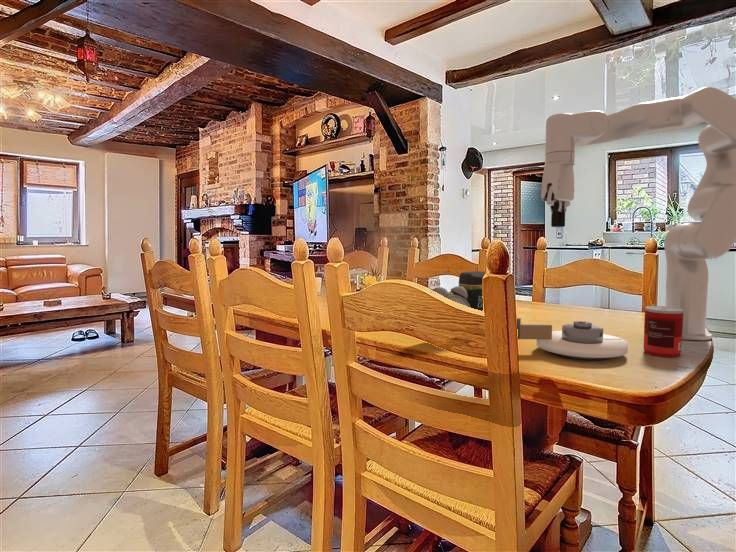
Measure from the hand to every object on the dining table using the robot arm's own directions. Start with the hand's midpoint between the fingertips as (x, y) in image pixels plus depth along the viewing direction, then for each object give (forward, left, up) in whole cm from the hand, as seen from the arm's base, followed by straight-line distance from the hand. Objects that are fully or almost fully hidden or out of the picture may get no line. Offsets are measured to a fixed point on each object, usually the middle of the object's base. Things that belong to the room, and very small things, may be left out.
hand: (558, 226), depth 127 cm
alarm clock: (+28, -16, -31) cm, 45 cm away
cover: (+14, +15, -28) cm, 34 cm away
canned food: (0, +27, -31) cm, 41 cm away
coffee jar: (+16, -16, -31) cm, 39 cm away
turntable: (+16, +12, -30) cm, 36 cm away
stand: (+14, +14, -31) cm, 37 cm away
